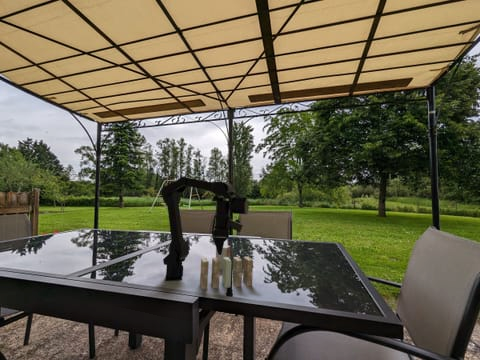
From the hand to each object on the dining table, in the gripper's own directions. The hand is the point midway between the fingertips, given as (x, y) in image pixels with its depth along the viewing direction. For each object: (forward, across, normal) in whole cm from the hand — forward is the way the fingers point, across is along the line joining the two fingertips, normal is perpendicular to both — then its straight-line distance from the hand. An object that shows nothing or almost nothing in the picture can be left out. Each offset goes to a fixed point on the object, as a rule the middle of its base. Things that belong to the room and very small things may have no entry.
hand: (220, 252), depth 92 cm
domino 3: (+13, +1, -3) cm, 13 cm away
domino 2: (+13, -1, +1) cm, 13 cm away
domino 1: (+13, -2, +6) cm, 14 cm away
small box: (+13, +25, -1) cm, 28 cm away
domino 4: (+13, +2, -7) cm, 15 cm away
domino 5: (+13, +3, -12) cm, 17 cm away
